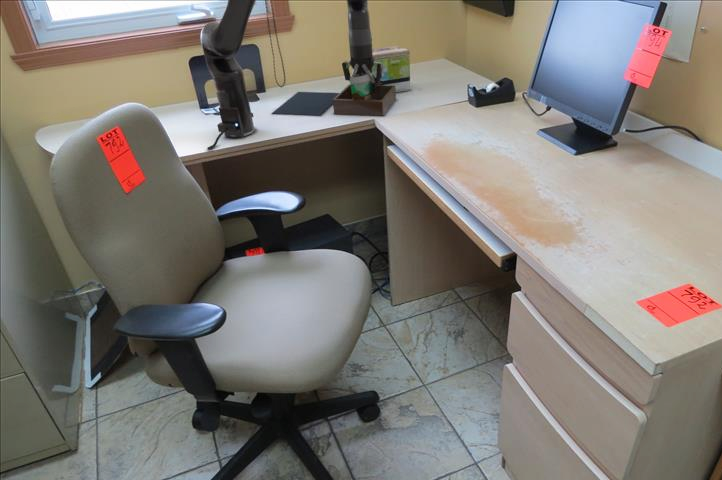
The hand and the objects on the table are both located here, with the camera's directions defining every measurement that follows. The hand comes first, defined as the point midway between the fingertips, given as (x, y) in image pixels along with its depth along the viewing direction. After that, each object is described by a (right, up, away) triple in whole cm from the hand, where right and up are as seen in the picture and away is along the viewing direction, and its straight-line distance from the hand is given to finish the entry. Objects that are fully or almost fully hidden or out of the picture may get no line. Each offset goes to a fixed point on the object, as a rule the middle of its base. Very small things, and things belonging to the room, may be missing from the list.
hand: (364, 92), depth 193 cm
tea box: (+8, +6, +18) cm, 20 cm away
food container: (0, -3, +2) cm, 3 cm away
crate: (0, -4, +3) cm, 5 cm away
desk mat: (-21, -1, +9) cm, 23 cm away
